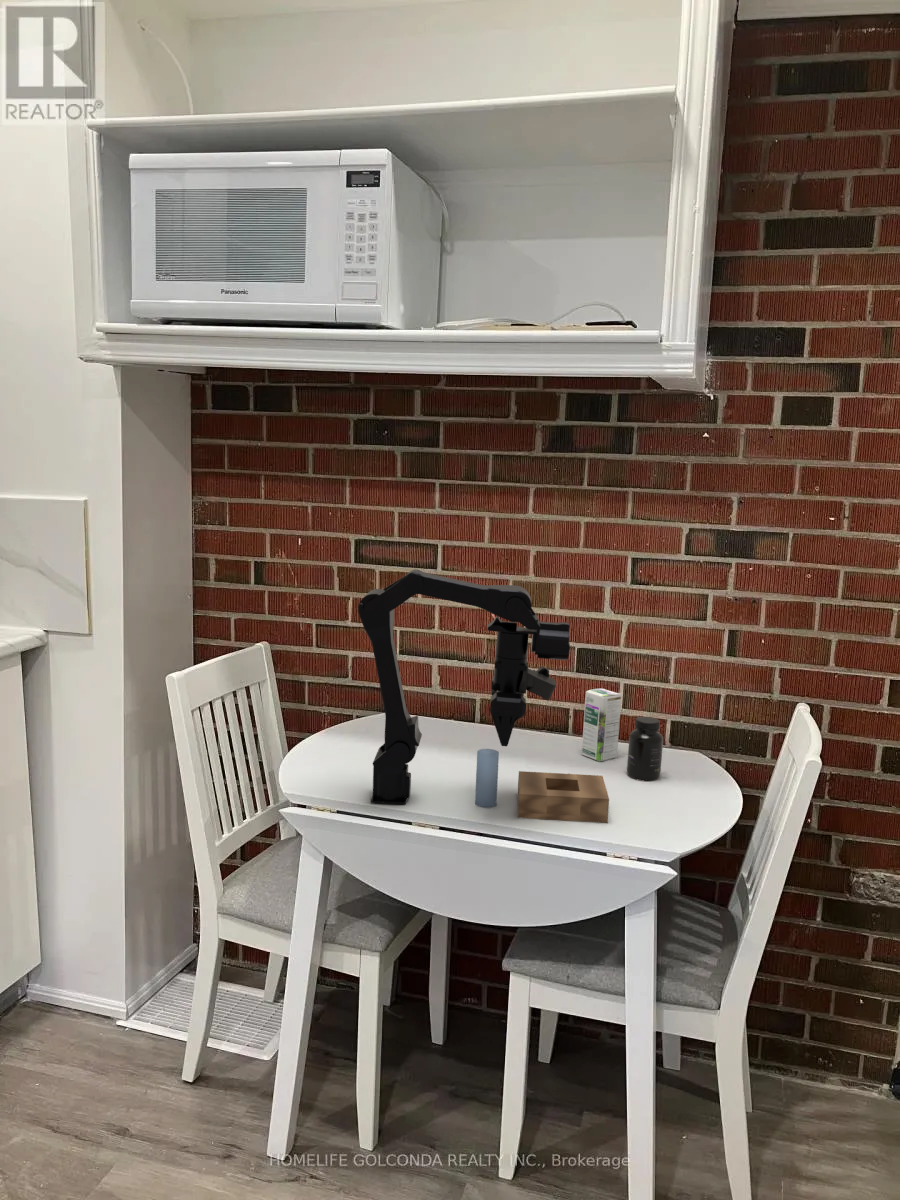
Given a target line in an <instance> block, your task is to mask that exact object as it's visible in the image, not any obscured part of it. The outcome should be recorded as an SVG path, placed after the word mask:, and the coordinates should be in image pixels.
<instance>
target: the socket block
mask: <svg viewBox="0 0 900 1200" xmlns="http://www.w3.org/2000/svg"><path fill="white" fill-rule="evenodd" d="M517 777H518V779H517V780H518V782H517V816H518V817H517V818H518V819H531V820H532V819H533V820H535V819H536V820H551V821H554V820H555V821H569V822H570V821H571V822H586V823H587V822H588V823H589V822H590V823H603V824H605V823H606V824H608V821H609V820H608V819H609V809H610V807H609V805H610V797H609V794H608V791H607V786H606V783H605V780H604V776H603V775H595V774H580V773H579V774H577V773H557V772H539V771H521V770H519V771H518V776H517Z"/></svg>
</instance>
